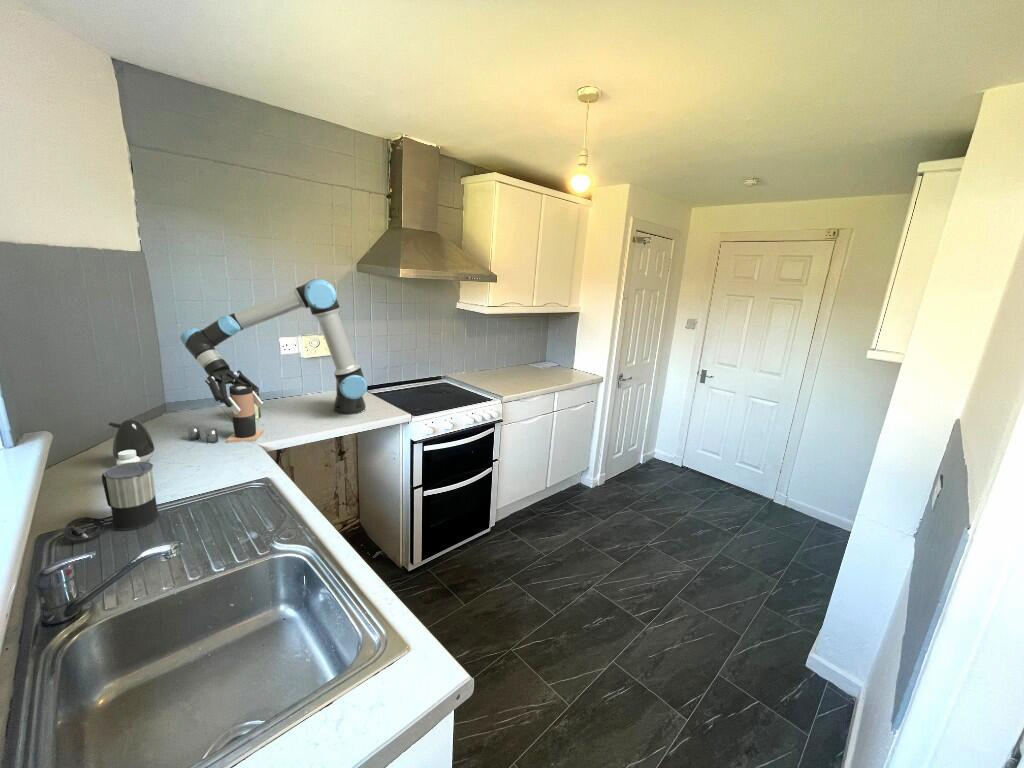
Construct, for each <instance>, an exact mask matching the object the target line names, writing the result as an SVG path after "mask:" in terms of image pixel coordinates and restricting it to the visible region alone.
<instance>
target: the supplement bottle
mask: <svg viewBox="0 0 1024 768" xmlns="http://www.w3.org/2000/svg"><path fill="white" fill-rule="evenodd" d="M118 458H119V460H116V462H115V464H116V465H115V466H117V465H121V464H123V463H130V462H141V460H140V458H139V457H138V456H136V451H135V450H125V451H121V452H119V453H118Z"/></svg>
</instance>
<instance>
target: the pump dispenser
mask: <svg viewBox="0 0 1024 768" xmlns="http://www.w3.org/2000/svg"><path fill="white" fill-rule="evenodd" d="M108 426H110V427H112V428H116V431H115V433H114V437H113V441H112V456H113V458H114V459H115V460H116V461H117V460H119V458H118V453H119V452H121V451H125V450H135V451H136V456H138V457H139V458H140V460H141V462H149V460H150V459H151V458H152V457H153V455H154V452H155V444H154V442H153V439H152V436H151V435H150V432H149V431H148V429H147V428H146V427H145V425H144V424H143V423H142V422H140V420H137V419H136V418H135V419H134V418H129V419H125V420H123V421H122V422H120V423H116V422H109V423H108Z"/></svg>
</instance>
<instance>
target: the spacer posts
mask: <svg viewBox="0 0 1024 768" xmlns="http://www.w3.org/2000/svg"><path fill="white" fill-rule="evenodd" d="M204 430H205V438H206V443H207V444H208V443H212V444H216V442H217V443H218V442H219V434H218V428H217V427H210V428H209V427H208V428H206V429H204ZM187 435H188V441H189V440H190V441H189V442H197V441H200V440H201V430H200V425H190V426H188V427H187ZM199 439H200V440H199ZM196 440H197V441H196Z"/></svg>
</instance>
